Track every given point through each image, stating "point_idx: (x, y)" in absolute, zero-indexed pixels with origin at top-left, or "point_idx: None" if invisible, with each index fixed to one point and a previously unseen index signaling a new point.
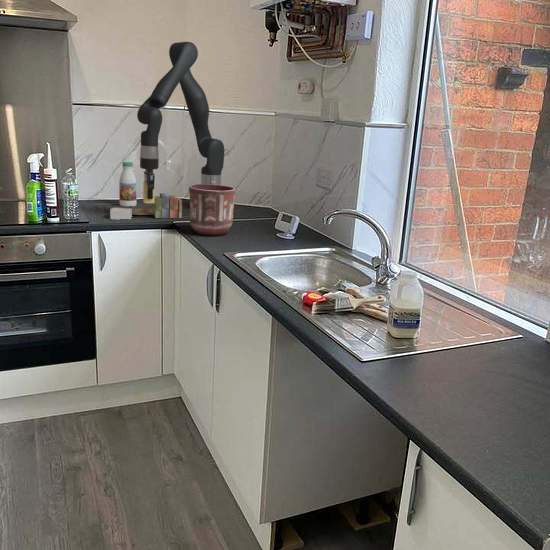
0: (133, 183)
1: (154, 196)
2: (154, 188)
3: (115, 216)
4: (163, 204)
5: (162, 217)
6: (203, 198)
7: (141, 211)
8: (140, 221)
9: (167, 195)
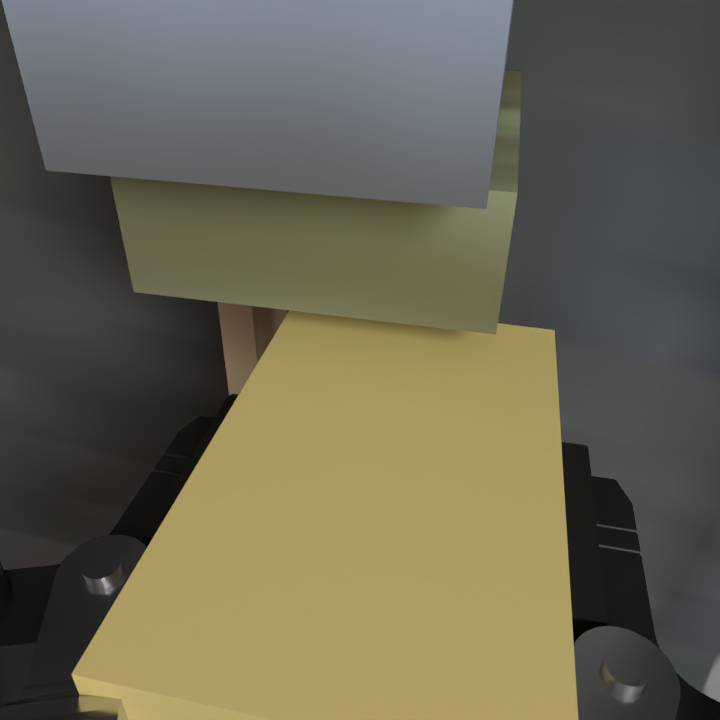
0: None
1: (557, 429)
2: (570, 623)
3: None
4: (502, 88)
5: (507, 52)
6: None
7: (268, 339)
8: (632, 401)
9: (508, 2)
